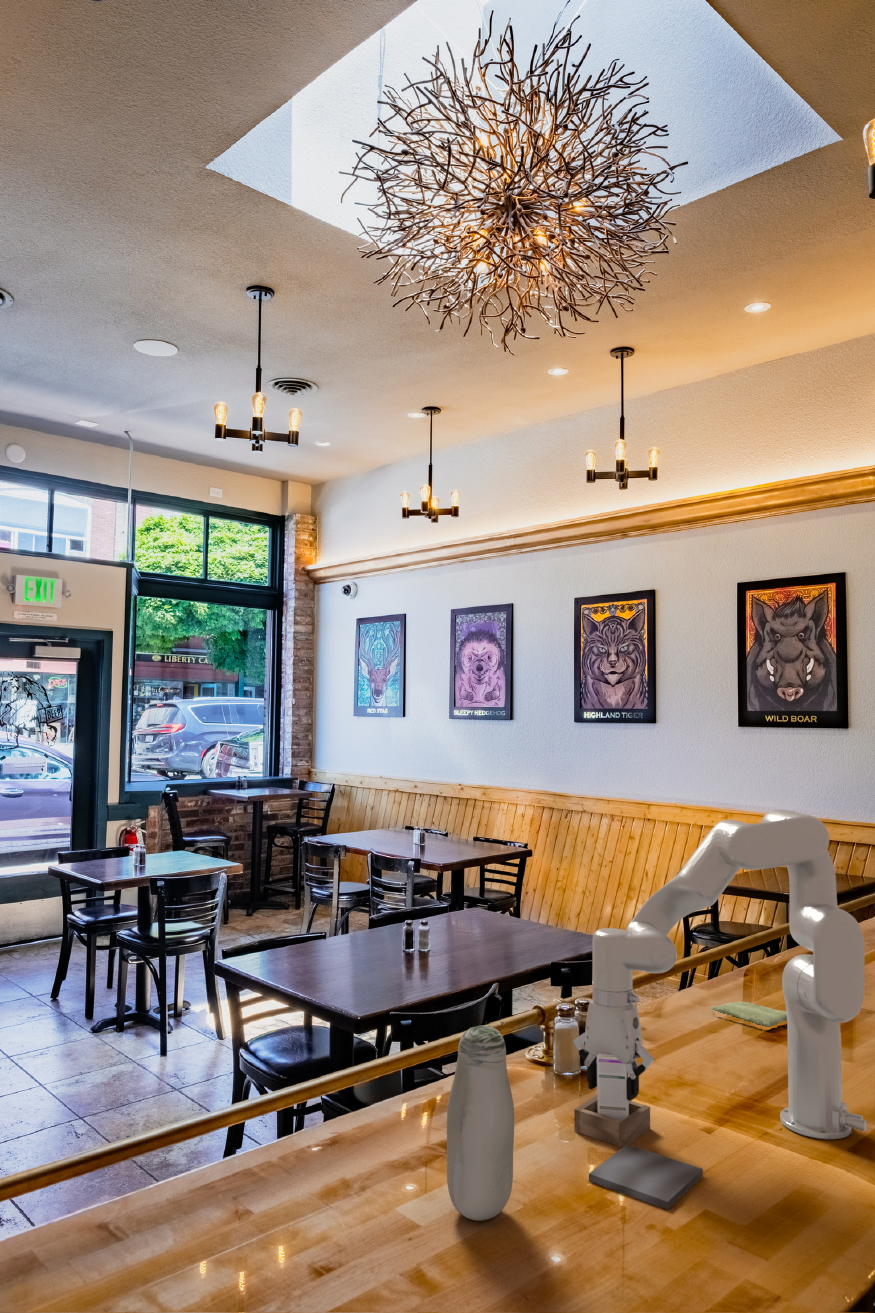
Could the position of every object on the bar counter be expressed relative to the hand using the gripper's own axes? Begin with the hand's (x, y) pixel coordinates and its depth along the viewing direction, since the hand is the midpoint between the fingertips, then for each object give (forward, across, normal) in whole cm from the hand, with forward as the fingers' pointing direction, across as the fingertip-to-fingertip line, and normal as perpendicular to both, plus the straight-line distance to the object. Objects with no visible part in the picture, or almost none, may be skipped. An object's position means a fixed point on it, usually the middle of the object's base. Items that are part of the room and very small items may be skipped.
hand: (612, 1092), depth 170 cm
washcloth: (+8, +3, -83) cm, 84 cm away
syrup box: (+7, 0, 0) cm, 7 cm away
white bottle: (+7, +2, +40) cm, 41 cm away
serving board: (+7, -13, +13) cm, 20 cm away
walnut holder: (+7, 0, 0) cm, 7 cm away
